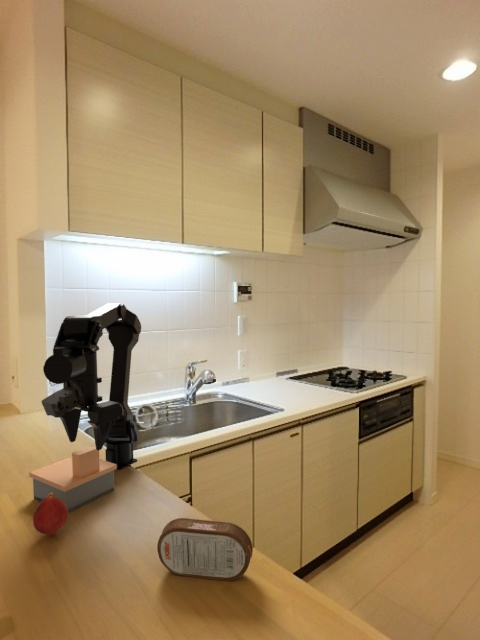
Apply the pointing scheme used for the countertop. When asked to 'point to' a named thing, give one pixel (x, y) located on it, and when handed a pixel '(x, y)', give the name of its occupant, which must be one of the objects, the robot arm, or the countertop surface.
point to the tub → (77, 491)
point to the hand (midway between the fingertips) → (85, 445)
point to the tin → (205, 549)
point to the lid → (74, 470)
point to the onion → (50, 515)
